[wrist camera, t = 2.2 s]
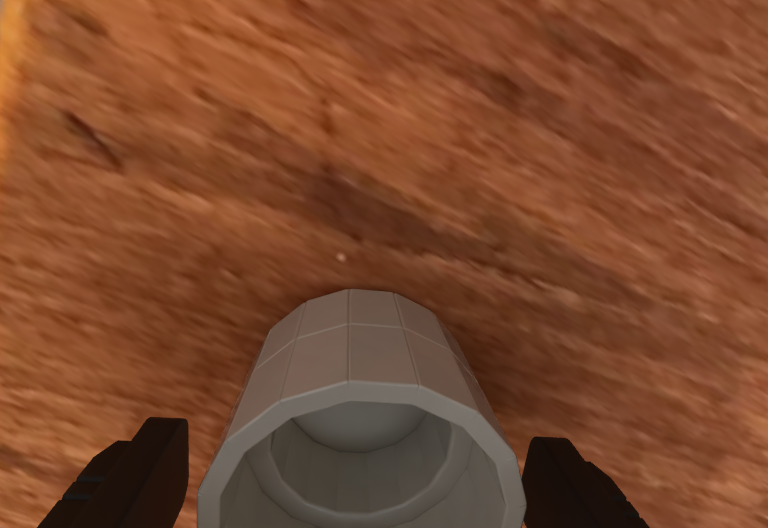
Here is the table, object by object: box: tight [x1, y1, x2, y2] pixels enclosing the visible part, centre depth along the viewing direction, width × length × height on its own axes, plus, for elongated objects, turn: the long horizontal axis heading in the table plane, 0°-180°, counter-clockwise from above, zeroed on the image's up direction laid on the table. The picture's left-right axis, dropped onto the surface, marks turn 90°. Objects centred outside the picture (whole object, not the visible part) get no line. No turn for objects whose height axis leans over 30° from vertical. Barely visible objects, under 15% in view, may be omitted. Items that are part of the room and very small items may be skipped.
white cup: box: [197, 289, 527, 528], centre depth 10 cm, size 6×6×5 cm
